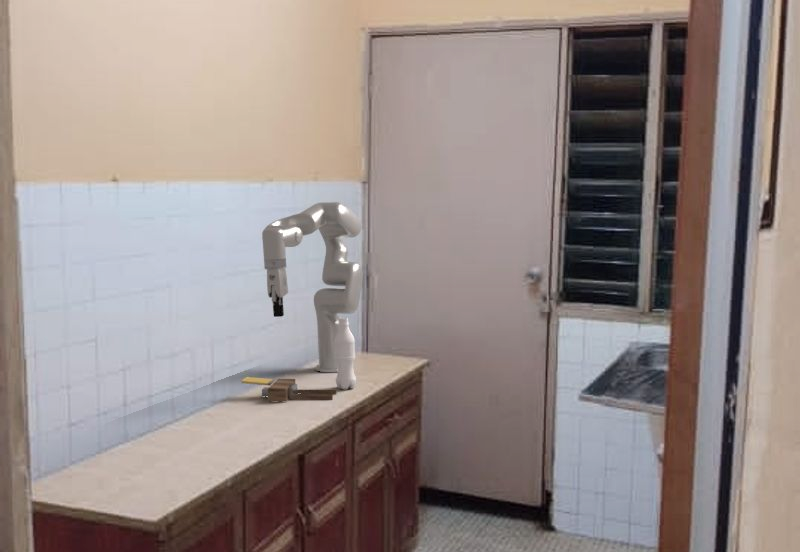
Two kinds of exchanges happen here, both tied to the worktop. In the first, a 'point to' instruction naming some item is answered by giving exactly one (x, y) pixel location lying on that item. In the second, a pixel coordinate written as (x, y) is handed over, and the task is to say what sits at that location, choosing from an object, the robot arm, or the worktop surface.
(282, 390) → the block
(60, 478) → the worktop surface
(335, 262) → the robot arm
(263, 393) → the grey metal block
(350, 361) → the water bottle
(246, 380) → the yellow grey-edged tile
